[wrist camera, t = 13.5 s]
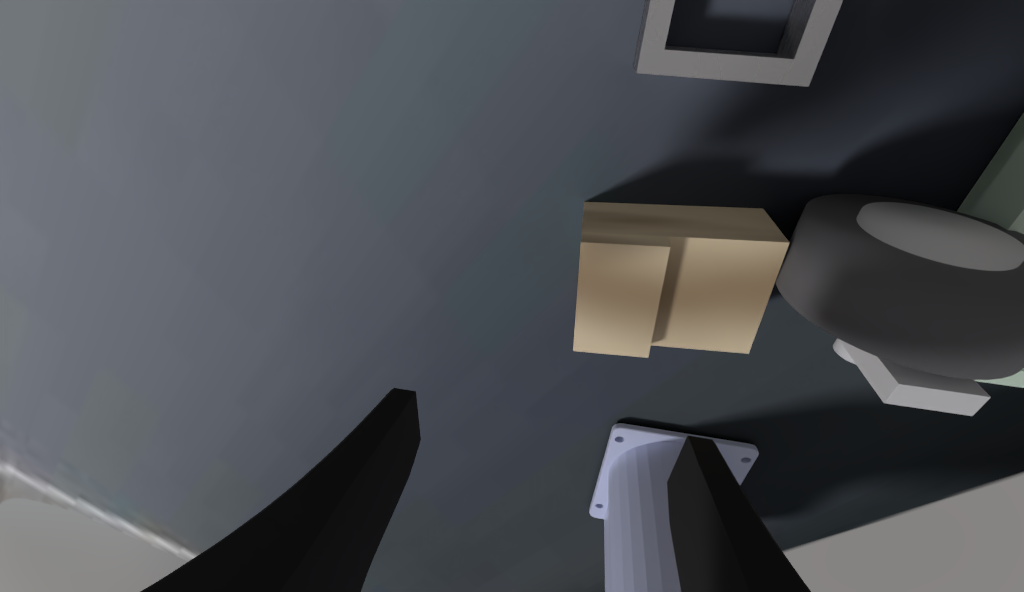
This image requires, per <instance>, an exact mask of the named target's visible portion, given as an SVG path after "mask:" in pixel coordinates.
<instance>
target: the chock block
mask: <svg viewBox="0 0 1024 592" xmlns="http://www.w3.org/2000/svg"><path fill="white" fill-rule="evenodd" d="M789 243H790V242H789V241H788V240H787V238H786V237H785V236H784V235H783V233H782V232H781V231H780V230H779V228H778V227H777V226H776V224H775V223H774V222H773V221H772V219H771V218H770V217H769V215H768V214H767V213H766V212H765V210H764V209H762V208H735V207H709V206H683V205H656V204H630V203H604V202H584V209H583V222H582V235H581V249H580V263H579V277H578V291H577V305H576V318H575V332H574V346H573V351H579V352H590V353H601V354H612V355H623V356H634V357H645V358H648V356H649V351H650V346H651V345H653V346H665V347H677V348H688V349H700V350H712V351H723V352H735V353H747V354H749V351H750V349H751V346H752V343H753V341H754V338H755V335H756V333H757V330H758V327H759V324H760V322H761V319H762V316H763V314H764V311H765V308H766V305H767V303H768V300H769V297H770V295H771V292H772V289H773V286H774V284H775V281H776V278H777V276H778V273H779V270H780V268H781V265H782V262H783V259H784V257H785V254H786V251H787V249H788V246H789Z"/></svg>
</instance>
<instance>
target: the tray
mask: <svg viewBox="0 0 1024 592" xmlns="http://www.w3.org/2000/svg"><path fill="white" fill-rule="evenodd" d="M957 212H960V213H964V214H967V215H971V216H974V217H977V218H981V219H984V220H987V221H990V222H993V223H995V224H998V225H999V226H1001V227H1003V228H1005V229H1006V230H1011V231H1017V232H1020V233H1022V234H1024V113H1023V114H1022V116H1021V117H1020V119H1019V120H1018V122H1017V123H1016V124H1015V126H1014V127H1013V129H1012V130H1011V132H1010V133H1009V135H1008V136H1007V138H1006V139H1005V141H1004V142H1003V144H1002V145H1001V147H1000V148H999V150H998V151H997V153H996V154H995V155H994V157H993V158H992V160H991V161H990V163H989V164H988V166H987V167H986V169H985V170H984V172H983V173H982V175H981V176H980V178H979V179H978V181H977V182H976V184H975V185H974V186H973V188H972V189H971V191H970V192H969V194H968V195H967V197H966V198H965V200H964V201H963V203H962V204H961V206H960V207H959V209H958V210H957ZM975 381H978V382H985V383H992V384H999V385H1007V386H1014V387H1021V388H1024V368H1023V369H1022V370H1021V371H1020V372H1018V373H1016V374H1014V375H1012V376H1009V377H1005V378H1001V379H992V380H975Z"/></svg>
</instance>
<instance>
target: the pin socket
mask: <svg viewBox="0 0 1024 592" xmlns="http://www.w3.org/2000/svg"><path fill="white" fill-rule="evenodd" d="M842 2H843V0H795V1H794V4H793V7H792V10H791V13H790V16H789V19H788V21H787V24H786V27H785V30H784V33H783V36H782V39H781V41H780V44H779V47H778V50H777V53H776V54H773V53H759V52H746V51H732V50H718V49H705V48H691V47H677V46H665V44H666V40H667V35H668V31H669V26H670V21H671V17H672V12H673V8H674V3H675V0H645V6H644V11H643V16H642V22H641V27H640V32H639V38H638V43H637V48H636V54H635V59H634V64H633V68H634V69H635V71H636V73H642V74H655V75H667V76H680V77H692V78H705V79H717V80H730V81H742V82H755V83H767V84H780V85H793V86H805V87H809V84H810V82H811V79H812V77H813V74H814V72H815V69H816V67H817V64H818V62H819V59H820V57H821V54H822V52H823V49H824V47H825V44H826V42H827V40H828V37H829V35H830V32H831V30H832V27H833V25H834V22H835V20H836V17H837V15H838V12H839V10H840V7H841V5H842Z"/></svg>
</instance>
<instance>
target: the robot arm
mask: <svg viewBox="0 0 1024 592" xmlns="http://www.w3.org/2000/svg"><path fill="white" fill-rule="evenodd" d="M420 440H421V438H420V428H419V418H418V409H417V399H416V391H410V390H403V389H397V388H394V389H392V390H391V391H390V392H389V393H388V394H387V395H386V396H385V397H384V398H383V399H382V400H381V402H380V403H379V404H378V405H377V406H376V407H375V408H374V409H373V410H372V411H371V412H370V413H369V414H368V415H367V416H366V417H365V419H364V420H363V421H362V422H361V423H360V424H359V425H358V426H357V427H356V428H355V429H354V430H353V431H352V432H351V433H350V434H349V435H348V436H347V437H346V438H345V439H344V440H343V441H342V442H341V443H340V444H339V445H337V446H336V447H335V448H334V449H333V450H332V451H331V452H330V453H329V454H328V455H327V456H326V457H325V458H324V459H323V460H321V461H320V462H319V463H318V464H317V465H316V466H315V467H314V468H313V469H311V470H310V471H309V472H308V473H307V474H306V475H305V476H304V477H303V478H301V479H300V480H299V481H298V482H297V483H296V484H294V485H293V486H292V487H291V488H290V489H288V490H287V491H286V492H285V493H284V494H282V495H281V496H280V497H279V498H277V499H276V500H275V501H273V502H272V503H271V504H270V505H268V506H267V507H266V508H265V509H263V510H262V511H261V512H259V513H258V514H257V515H255V516H254V517H253V518H251V519H250V520H249V521H247V522H246V523H244V524H243V525H242V526H240V527H239V528H238V529H236V530H235V531H234V532H232V533H231V534H229V535H228V536H227V537H225V538H224V539H222V540H221V541H219V542H218V543H216V544H215V545H214V546H212V547H211V548H209V549H207V550H206V551H204V552H203V553H201V554H200V555H198V556H197V557H195V558H194V559H192V560H190V561H189V562H187V563H186V564H185V565H183V566H181V567H180V568H178V569H177V570H175V571H173V572H172V573H170V574H169V575H167V576H166V577H164V578H163V579H161V580H159V581H158V582H156V583H154V584H153V585H151V586H149V587H148V588H146V589H144V590H143V591H141V592H361V589H362V586H363V583H364V581H365V578H366V575H367V572H368V570H369V567H370V565H371V562H372V560H373V557H374V555H375V553H376V551H377V548H378V546H379V544H380V541H381V539H382V537H383V535H384V532H385V530H386V528H387V526H388V523H389V521H390V519H391V517H392V514H393V512H394V510H395V508H396V505H397V503H398V501H399V498H400V496H401V494H402V492H403V489H404V487H405V485H406V482H407V480H408V478H409V475H410V472H411V469H412V466H413V463H414V460H415V457H416V453H417V450H418V447H419V443H420ZM758 455H759V452H758V449H757V447H756V446H755V445H752V444H748V443H742V442H736V441H730V440H723V439H717V438H711V437H705V436H699V435H692V434H686V433H680V432H674V431H668V430H661V429H655V428H649V427H643V426H636V425H630V424H624V423H618V424H615V425H614V426H613V427H612V430H611V434H610V437H609V441H608V444H607V448H606V451H605V455H604V459H603V462H602V466H601V469H600V473H599V476H598V480H597V483H596V487H595V491H594V494H593V498H592V501H591V505H590V515H591V516H593V517H595V518H600V519H604V541H605V592H811V591H810V590H809V588H808V587H807V586H806V584H805V583H804V582H803V580H802V579H801V578H800V576H799V575H798V573H797V572H796V571H795V569H794V568H793V566H792V565H791V563H790V562H789V561H788V559H787V558H786V556H785V555H784V553H783V552H782V550H781V549H780V548H779V546H778V545H777V543H776V542H775V540H774V539H773V537H772V536H771V534H770V533H769V531H768V529H767V528H766V526H765V525H764V523H763V522H762V520H761V519H760V517H759V516H758V514H757V512H756V511H755V509H754V508H753V506H752V505H751V503H750V501H749V500H748V498H747V496H746V495H745V493H744V491H743V490H742V488H741V487H740V485H741V483H742V482H743V480H744V478H745V477H746V475H747V474H748V472H749V470H750V469H751V467H752V465H753V464H754V462H755V460H756V459H757V457H758Z"/></svg>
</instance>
